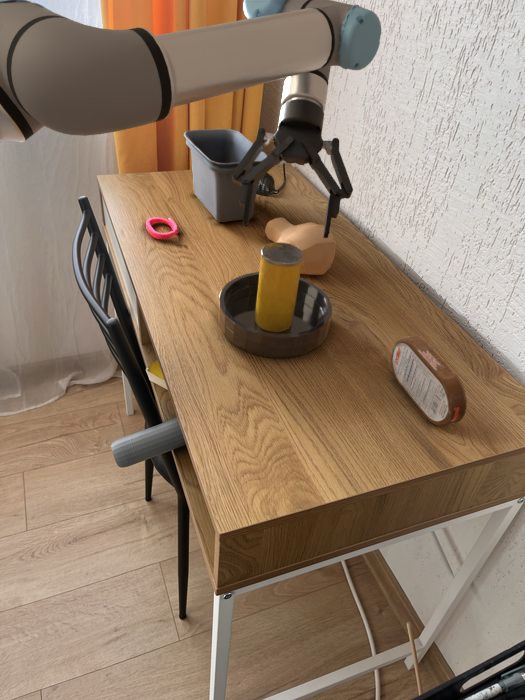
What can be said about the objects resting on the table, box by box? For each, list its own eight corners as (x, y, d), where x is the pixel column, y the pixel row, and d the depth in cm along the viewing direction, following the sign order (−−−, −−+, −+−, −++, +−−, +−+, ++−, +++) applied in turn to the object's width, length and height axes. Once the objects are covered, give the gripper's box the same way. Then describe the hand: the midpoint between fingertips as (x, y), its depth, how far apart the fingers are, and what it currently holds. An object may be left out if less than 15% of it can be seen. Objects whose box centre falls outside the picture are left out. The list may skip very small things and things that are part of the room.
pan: (208, 350, 82) (209, 327, 79) (227, 286, 96) (228, 265, 94) (326, 367, 82) (331, 344, 79) (327, 300, 96) (332, 279, 93)
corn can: (252, 329, 86) (259, 260, 78) (256, 307, 91) (263, 239, 83) (291, 334, 86) (302, 266, 78) (293, 312, 91) (304, 245, 83)
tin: (456, 434, 73) (478, 391, 68) (438, 439, 72) (458, 396, 67) (399, 365, 84) (413, 323, 78) (382, 368, 83) (396, 326, 77)
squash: (299, 290, 98) (295, 246, 93) (252, 251, 113) (246, 212, 107) (347, 271, 101) (346, 228, 96) (295, 236, 116) (291, 197, 111)
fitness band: (182, 237, 109) (182, 230, 108) (155, 241, 107) (155, 235, 106) (168, 220, 114) (168, 214, 113) (142, 224, 112) (142, 217, 111)
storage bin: (179, 190, 127) (179, 129, 118) (238, 184, 133) (242, 126, 124) (210, 230, 112) (213, 164, 103) (275, 222, 118) (283, 159, 109)
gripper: (371, 130, 93) (356, 246, 91) (231, 112, 94) (214, 227, 92) (380, 106, 85) (364, 232, 83) (228, 87, 86) (209, 212, 84)
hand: (285, 230), depth 87 cm, fingers open, 13 cm apart
